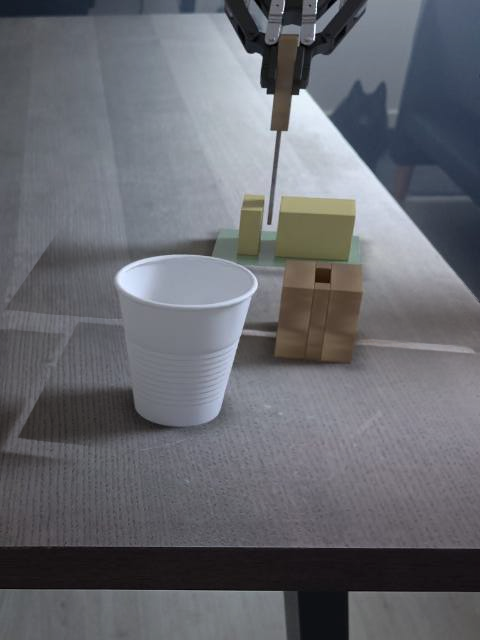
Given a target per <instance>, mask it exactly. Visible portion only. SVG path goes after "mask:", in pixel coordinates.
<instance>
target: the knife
mask: <svg viewBox="0 0 480 640" xmlns="http://www.w3.org/2000/svg"><path fill="white" fill-rule="evenodd" d="M299 40H300V34H299V33H282V34H281V36H280V39H279V48H278V58H277V60H278V62H277V72H276V81H275V91H274V95H273V98H272V99H273V100H272V109H271V110H272V111H271V118H270V128H269V130H270V131H271V132H276V134H275V142H274V143H275V144H274V153H273V163H272V172H271V182H270V192H269V201H268V209H267V219H266V220H267V221H266V225H267V226H272V223H273V217H274V209H275V208H274V206H275V197H276V188H277V179H278V170H279V169H278V168H279V161H280V152H281V141H282V135H283V134H282V133H283V132H289V128H290V120H291V119H290V118H291V109H292V102H293V101H292V100H293V95H291V92H292V82H293V74H294V66H295V60H296V53H297V46H299Z"/></svg>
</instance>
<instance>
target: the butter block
mask: <svg viewBox="0 0 480 640" xmlns="http://www.w3.org/2000/svg"><path fill="white" fill-rule="evenodd" d="M356 203H357V202H356V199H351V198H331V197H330V198H329V197H310V196H309V197H307V196H306V197H305V196H289V195H288V196H287V195H285V196H284V195H283V196H281V199H280V205H279V212H278V220H277V227H276V228H277V229H276V232H277V237H276V246H275V255H274V256H275V257H291V258H308V259H324V260H341V261H349V258H350V251H351V244H352V238H353V236H354V230H355V223H356V216H357V214H356V213H357V212H356V210H357V209H356V206H357V205H356Z"/></svg>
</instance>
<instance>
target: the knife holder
mask: <svg viewBox="0 0 480 640" xmlns="http://www.w3.org/2000/svg"><path fill="white" fill-rule="evenodd" d="M283 272H284V273H283V279H282V286H281V295H280V302H279V303H280V304H279V310H278V311H279V312H278V320H277V330H276V337H275V346H274V354H273V355H274V356H273V357H274V358H283V359H293V360H294V359H296V360H304V361H305V360H307V361H319V362H329V363H330V362H331V363H343V364H352V362H353V356H354V351H355V344H356V338H357V337H356V336H357V331H358V325H359V318H360V312H361V308H362V307H361V306H362V299H363V294H364V291H363V289H364V288H363V287H364V285H363V265H362V264H361V263H360V264H344V263H328V262H311V261H294V260H286V264H285V267H284V271H283Z"/></svg>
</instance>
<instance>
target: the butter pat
mask: <svg viewBox="0 0 480 640" xmlns="http://www.w3.org/2000/svg"><path fill="white" fill-rule="evenodd" d="M265 205H266V195H265V194H264V195H263V194H244V197H243V201H242V205H241V209H240V214H239V215H240V217H239V228H238V230H239V237H238V249H237V254H242V255H258V251H259V246H260V241H261V234H262V231H263V225H264V224H263V223H264V216H265V215H264V213H265Z"/></svg>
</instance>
